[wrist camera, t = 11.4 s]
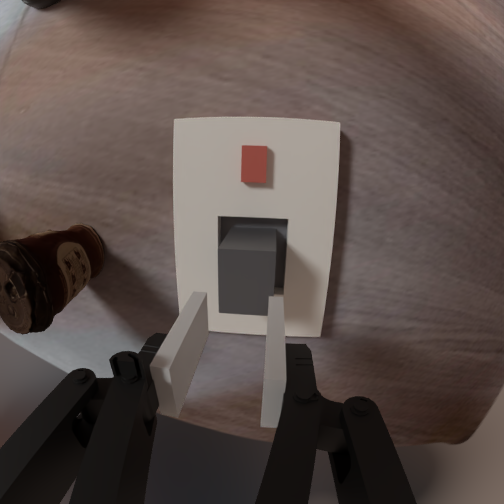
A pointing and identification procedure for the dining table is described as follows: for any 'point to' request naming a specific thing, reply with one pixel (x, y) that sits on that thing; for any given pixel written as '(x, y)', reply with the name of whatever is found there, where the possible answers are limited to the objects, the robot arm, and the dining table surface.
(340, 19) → the dining table surface
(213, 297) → the faceplate
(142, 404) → the robot arm
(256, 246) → the plug
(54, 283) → the coffee cup
